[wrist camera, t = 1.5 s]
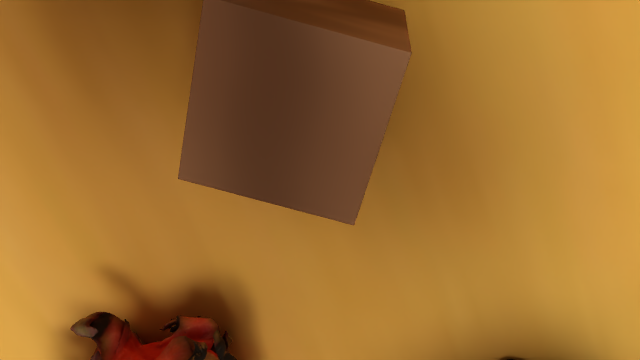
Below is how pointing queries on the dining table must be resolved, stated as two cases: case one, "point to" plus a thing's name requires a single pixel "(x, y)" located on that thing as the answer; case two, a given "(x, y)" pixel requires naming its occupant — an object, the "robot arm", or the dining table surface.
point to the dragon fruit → (164, 356)
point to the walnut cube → (293, 100)
